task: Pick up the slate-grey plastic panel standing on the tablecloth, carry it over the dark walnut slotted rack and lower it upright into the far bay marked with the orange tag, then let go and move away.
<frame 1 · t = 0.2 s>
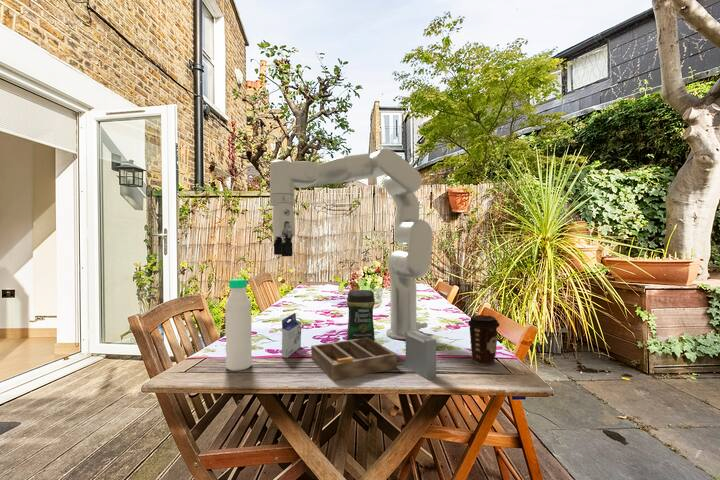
hand: (282, 255, 114), 31 cm above the table, tool pointing down, fingers open, 9 cm apart
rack: (352, 363, 105), on the table
panel: (420, 371, 99), on the table
coffee cup: (483, 362, 106), on the table
coffee jar: (360, 345, 123), on the table
water bottle: (239, 367, 103), on the table
ink box: (292, 352, 116), on the table
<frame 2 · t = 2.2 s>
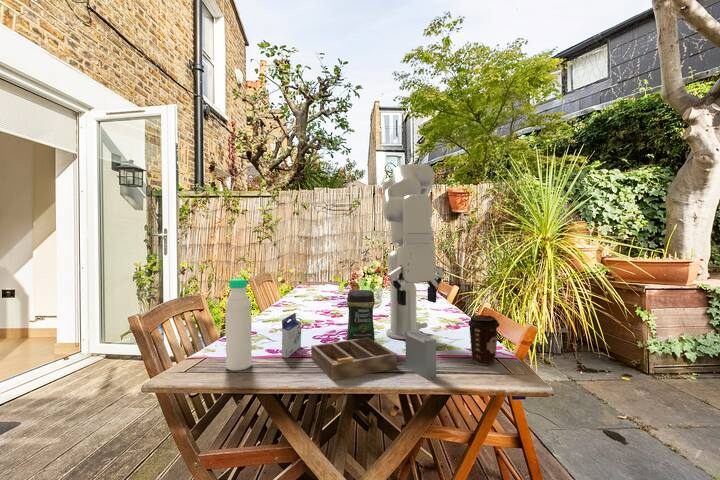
hand: (417, 303, 98), 19 cm above the table, tool pointing down, fingers open, 9 cm apart
nothing on the table moved.
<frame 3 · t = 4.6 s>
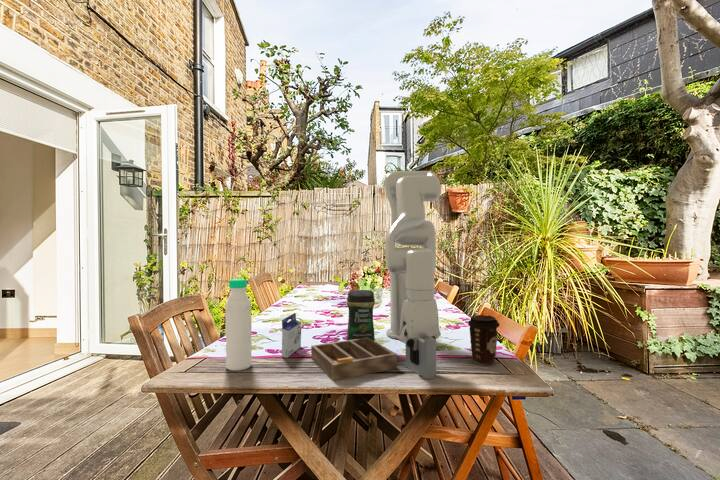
hand: (420, 361, 99), 3 cm above the table, tool pointing down, fingers closed on panel, 3 cm apart
panel: (420, 371, 99), on the table, touching gripper
everything else where it was.
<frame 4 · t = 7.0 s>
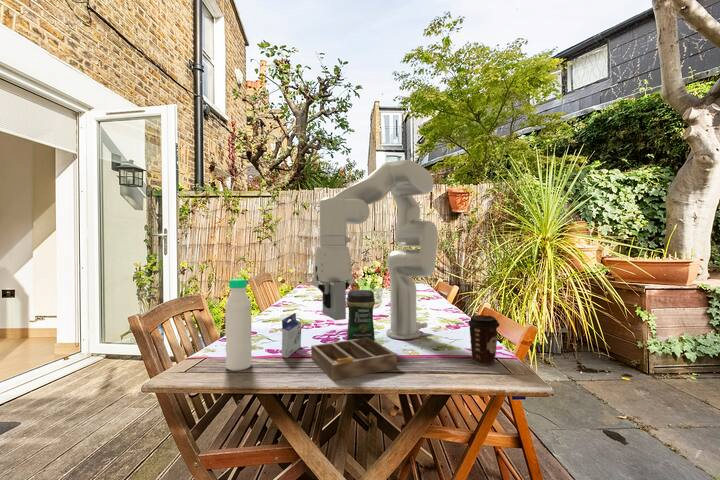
hand: (333, 306, 102), 17 cm above the table, tool pointing down, fingers closed on panel, 3 cm apart
panel: (333, 316, 102), point 14 cm above the table, touching gripper
everything else where it was.
when the fingers open (5 cm above the table, at t = 9.5 s): panel drops 2 cm, resting on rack.
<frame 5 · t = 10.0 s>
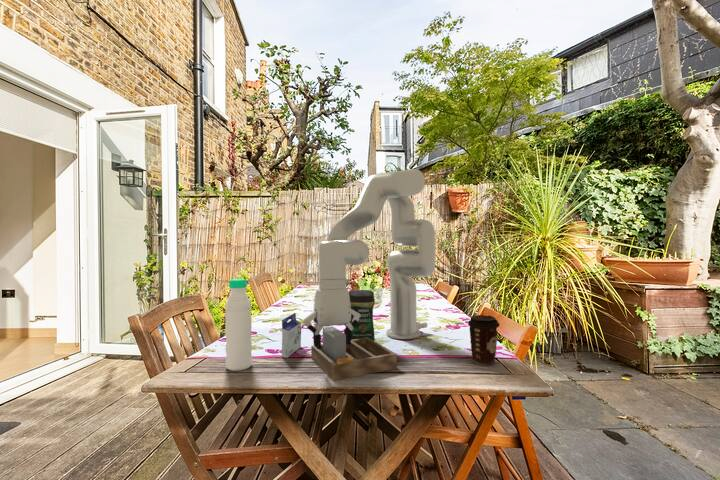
hand: (333, 345, 102), 6 cm above the table, tool pointing down, fingers open, 8 cm apart
panel: (334, 365, 103), resting on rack
everything else where it was.
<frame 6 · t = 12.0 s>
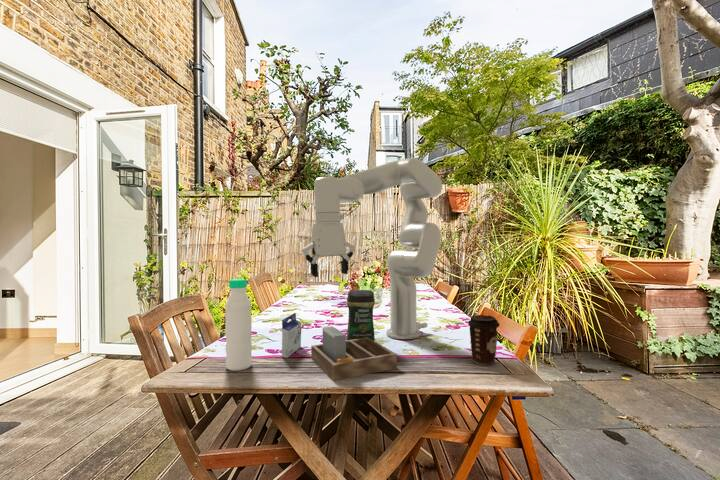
hand: (330, 275, 110), 25 cm above the table, tool pointing down, fingers open, 9 cm apart
nothing on the table moved.
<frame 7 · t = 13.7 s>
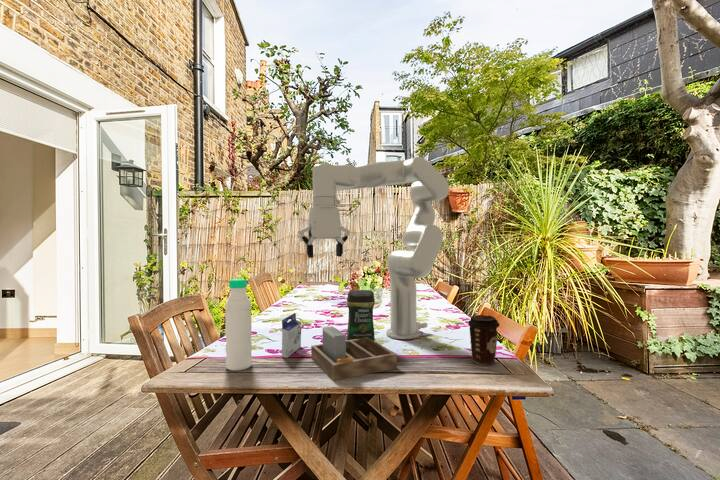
hand: (325, 256, 116), 30 cm above the table, tool pointing down, fingers open, 9 cm apart
nothing on the table moved.
at the end: panel inside the target area on the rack (0.3 cm from its centre), point 0.2 cm above the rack's base; panel tilted 0°; the gripper is holding nothing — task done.
